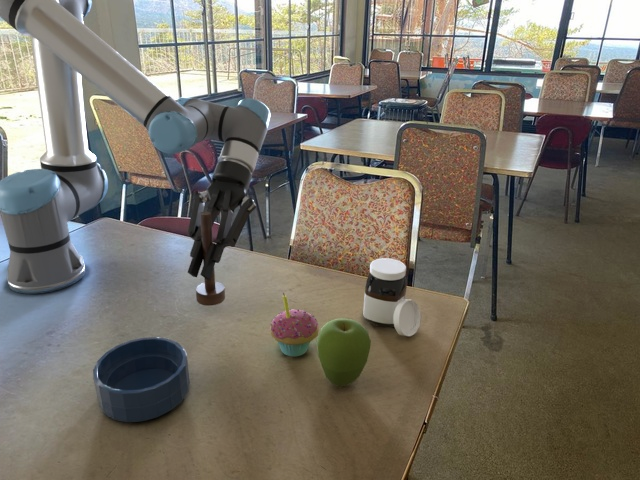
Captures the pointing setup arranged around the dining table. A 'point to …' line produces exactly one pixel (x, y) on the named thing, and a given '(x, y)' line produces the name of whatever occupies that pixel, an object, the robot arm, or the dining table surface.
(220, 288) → the wooden peg stand
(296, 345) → the cupcake
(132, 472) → the dining table surface
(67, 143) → the robot arm
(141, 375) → the bowl
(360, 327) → the apple
